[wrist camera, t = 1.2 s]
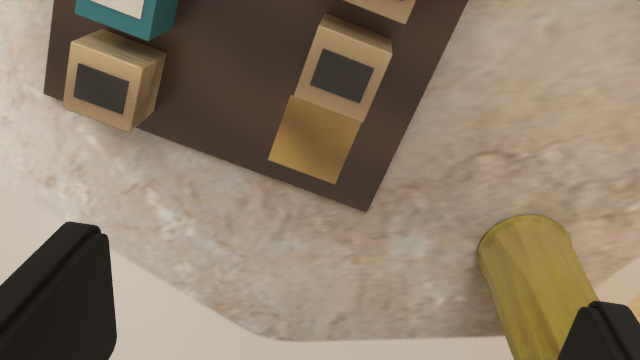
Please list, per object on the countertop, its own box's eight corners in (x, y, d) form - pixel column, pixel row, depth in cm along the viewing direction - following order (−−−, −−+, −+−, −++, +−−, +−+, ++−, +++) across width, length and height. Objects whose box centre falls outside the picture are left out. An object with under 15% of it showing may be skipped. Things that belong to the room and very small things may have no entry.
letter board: (87, -243, 26) (80, -247, 25) (499, -71, 27) (502, -71, 26) (48, 91, 34) (42, 94, 33) (366, 208, 35) (366, 213, 35)
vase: (490, 297, 38) (548, 492, 25) (465, 229, 35) (515, 405, 23) (579, 274, 36) (689, 470, 23) (559, 201, 34) (669, 374, 21)
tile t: (325, 12, 29) (318, 25, 26) (391, 39, 30) (393, 54, 26) (301, 78, 31) (292, 97, 28) (364, 102, 31) (363, 124, 28)
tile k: (102, 27, 31) (69, 41, 28) (167, 52, 31) (142, 69, 28) (92, 89, 33) (60, 108, 29) (153, 112, 33) (129, 134, 30)
